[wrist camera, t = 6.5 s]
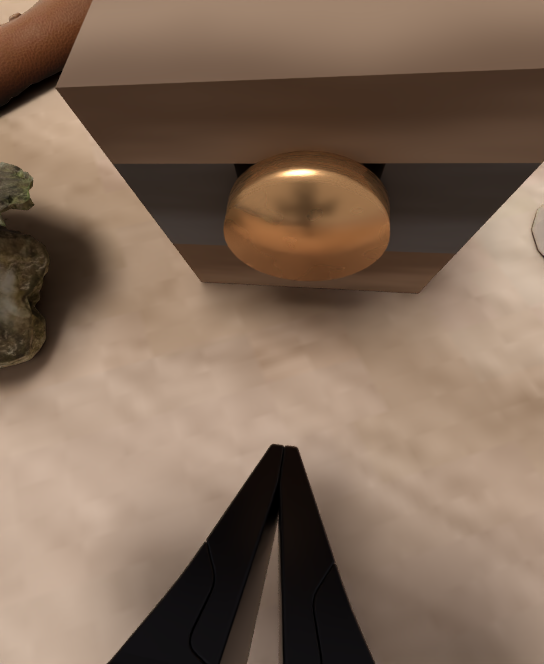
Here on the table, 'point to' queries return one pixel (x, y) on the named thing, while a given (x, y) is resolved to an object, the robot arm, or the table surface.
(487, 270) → the table surface
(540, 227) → the white cup
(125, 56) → the walnut block
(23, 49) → the sunglasses case
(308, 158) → the capped peg
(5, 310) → the hollow geode rock
